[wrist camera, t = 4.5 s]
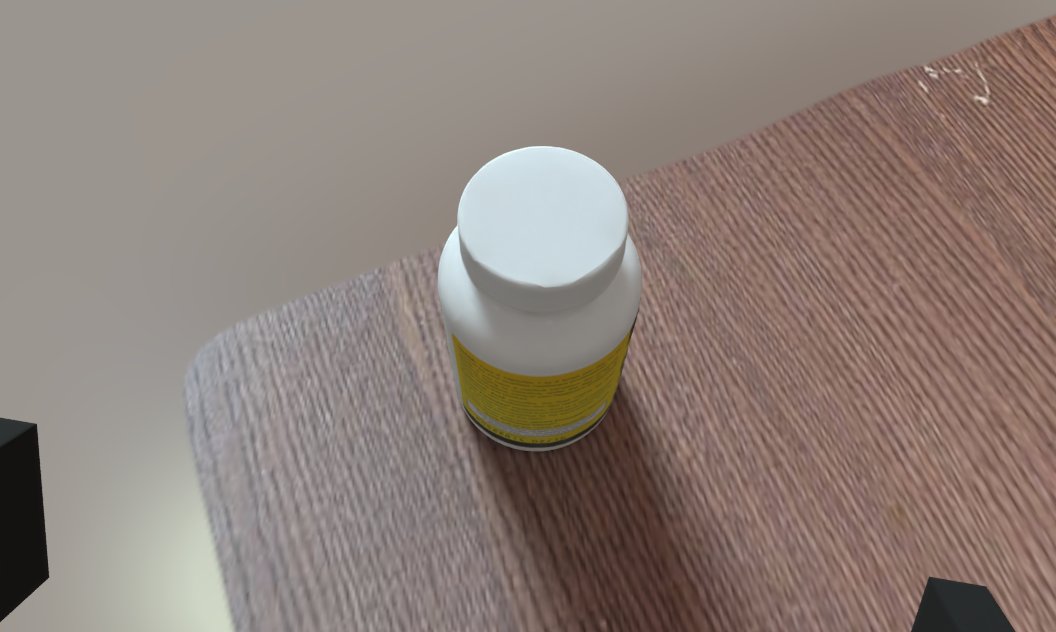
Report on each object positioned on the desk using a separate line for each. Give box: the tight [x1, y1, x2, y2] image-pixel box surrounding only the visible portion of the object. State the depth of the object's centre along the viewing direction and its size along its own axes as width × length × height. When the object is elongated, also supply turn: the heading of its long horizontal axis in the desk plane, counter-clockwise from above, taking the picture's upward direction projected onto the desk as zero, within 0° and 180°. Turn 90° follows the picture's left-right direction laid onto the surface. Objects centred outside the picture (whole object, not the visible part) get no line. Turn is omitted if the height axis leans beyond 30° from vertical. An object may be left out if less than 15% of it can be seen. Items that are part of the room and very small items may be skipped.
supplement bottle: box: [438, 146, 642, 451], centre depth 23 cm, size 5×5×10 cm
